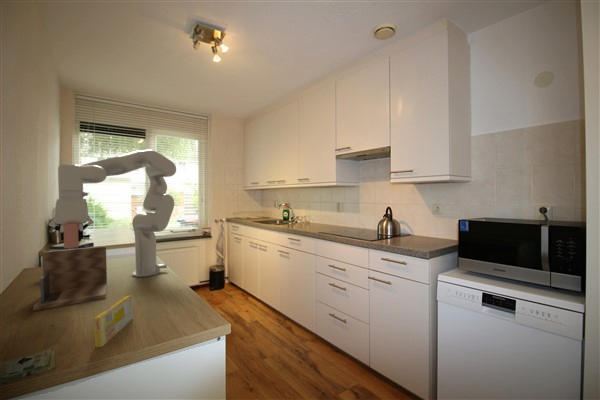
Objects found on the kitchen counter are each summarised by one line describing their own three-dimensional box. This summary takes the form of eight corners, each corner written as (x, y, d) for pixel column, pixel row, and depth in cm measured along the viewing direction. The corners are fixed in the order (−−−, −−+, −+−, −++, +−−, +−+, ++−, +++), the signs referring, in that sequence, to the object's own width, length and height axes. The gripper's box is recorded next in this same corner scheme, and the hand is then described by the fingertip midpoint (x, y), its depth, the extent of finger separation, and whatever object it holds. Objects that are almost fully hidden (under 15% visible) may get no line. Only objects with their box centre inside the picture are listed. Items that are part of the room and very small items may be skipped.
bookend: (61, 292, 113) (61, 270, 113) (56, 300, 104) (56, 276, 104) (47, 294, 110) (46, 271, 110) (41, 303, 101) (40, 278, 101)
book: (80, 243, 116) (79, 221, 115) (77, 247, 107) (76, 223, 107) (68, 244, 113) (67, 222, 113) (64, 248, 105) (63, 224, 105)
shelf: (107, 285, 125) (105, 246, 125) (105, 298, 110) (104, 253, 110) (44, 295, 113) (43, 251, 113) (33, 310, 98) (31, 260, 98)
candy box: (126, 320, 91) (125, 295, 90) (133, 319, 91) (132, 294, 91) (93, 347, 74) (93, 317, 74) (102, 347, 75) (101, 316, 74)
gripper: (97, 195, 118) (99, 238, 118) (45, 195, 108) (46, 242, 109) (96, 195, 111) (97, 240, 112) (40, 195, 102) (42, 245, 103)
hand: (72, 240), depth 110 cm, fingers closed on book, 4 cm apart
